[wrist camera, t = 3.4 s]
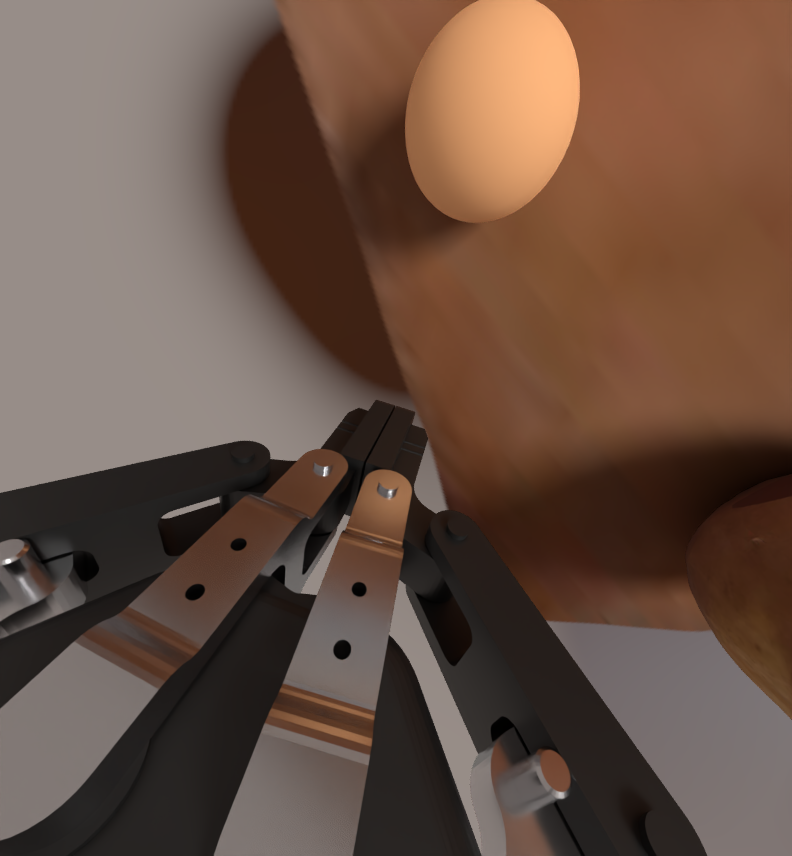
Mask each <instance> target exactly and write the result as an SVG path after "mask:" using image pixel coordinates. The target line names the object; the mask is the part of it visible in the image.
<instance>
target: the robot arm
mask: <svg viewBox="0 0 792 856" xmlns="http://www.w3.org/2000/svg"><path fill="white" fill-rule="evenodd" d="M414 416H415V412H414V411H411V410H408V409H404V408H401V407H398V406H396V408H395V405H391V404H388V403H385V402H382V401H379V400H376V401H375V402H374V403H373V405H372V406H371V408H370V409H369V411H367V410H364V409H360V408H358V409H355V410H353V411H351V412H349V413H348V414H347V415H346V416H345V418H344V419H343V420H342V422H341V423H340V424H339V426H338V427H337V428H336V429H335V431H334V432H333V433H332V435H331V436H330V437H329V438H328V440H327V441H326V442H325V444H324V445H323V446H322V448H321V449H316V450H312V451H309V452H307V453H305V454H304V455H303V456H302V457H301V458H300V459H299V460H298V461H285V460H284V461H283V460H274V459H270V452H269V450H268V449H267V448H266V447H265V446H264V445H262V444H260V443H257V442H253V441H238V442H232V443H228V444H223V445H218V446H214V447H209V448H205V449H200V450H195V451H191V452H186V453H182V454H177V455H172V456H168V457H163V458H159V459H154V460H150V461H145V462H140V463H136V464H131V465H126V466H122V467H117V468H113V469H108V470H104V471H99V472H94V473H90V474H86V475H81V476H76V477H72V478H67V479H62V480H58V481H53V482H48V483H44V484H39V485H35V486H30V487H26V488H21V489H16V490H12V491H7V492H3V493H0V856H707V854H706V852H705V849H704V847H703V845H702V843H701V841H700V839H699V837H698V835H697V833H696V832H695V830H694V828H693V826H692V825H691V823H690V822H689V820H688V819H687V817H686V816H685V814H684V813H683V811H682V810H681V809H680V807H679V806H678V805H677V803H676V802H675V801H674V799H673V798H672V796H671V795H670V793H669V792H668V791H667V789H666V788H665V786H664V785H663V784H662V782H661V781H660V779H659V778H658V777H657V775H656V774H655V772H654V771H653V770H652V768H651V767H650V765H649V764H648V763H647V761H646V760H645V759H644V757H643V756H642V754H641V753H640V752H639V750H638V749H637V748H636V746H635V745H634V743H633V742H632V740H631V739H630V738H629V736H628V735H627V733H626V732H625V731H624V729H623V728H622V727H621V725H620V724H619V722H618V721H617V719H616V718H615V717H614V715H613V714H612V712H611V711H610V710H609V708H608V707H607V706H606V704H605V703H604V701H603V700H602V699H601V697H600V696H599V694H598V693H597V692H596V690H595V689H594V688H593V686H592V685H591V683H590V682H589V680H588V679H587V678H586V676H585V675H584V673H583V672H582V671H581V669H580V668H579V667H578V665H577V664H576V662H575V661H574V660H573V658H572V657H571V656H570V654H569V653H568V651H567V650H566V649H565V647H564V646H563V644H562V643H561V642H560V640H559V639H558V637H557V636H556V634H555V633H554V632H553V630H552V629H551V628H550V626H549V625H548V623H547V622H546V620H545V619H544V618H543V616H542V615H541V613H540V612H539V611H538V609H537V608H536V607H535V605H534V604H533V602H532V601H531V600H530V598H529V597H528V595H527V594H526V593H525V591H524V590H523V588H522V587H521V586H520V584H519V583H518V581H517V580H516V579H515V577H514V576H513V574H512V573H511V572H510V570H509V569H508V567H507V566H506V565H505V563H504V562H503V561H502V559H501V558H500V556H499V555H498V554H497V552H496V551H495V549H494V548H493V547H492V545H491V544H490V542H489V541H488V540H487V538H486V537H485V535H484V534H483V533H482V531H481V530H480V528H479V527H478V526H477V524H476V523H475V522H474V521H473V520H472V519H470V518H469V517H468V516H466V515H464V514H462V513H460V512H457V511H452V510H445V511H441V512H438V513H437V514H435V513H434V512H432V511H431V510H429V509H428V508H426V507H425V506H424V505H423V504H422V503H421V502H420V501H419V500H418V498H417V497H416V495H415V492H414V483H415V480H416V476H417V473H418V469H419V466H420V463H421V460H422V456H423V453H424V450H425V447H426V443H427V440H428V437H427V434H426V431H425V429H423V428H419V427H417V426H413V425H412V422H413V419H414ZM216 497H219V498H220V503H217V504H214V505H211V506H207V507H204V508H201V509H198V510H195V511H192V512H188V513H185V514H182V515H179V516H176V517H172V518H167V519H162V518H161V517H162V516H163V515H165V514H166V513H168V512H170V511H173V510H176V509H180V508H183V507H186V506H190V505H193V504H196V503H200V502H203V501H206V500H209V499H213V498H216ZM344 514H346V515H348V516H350V519H349V522H348V524H347V527H346V530H345V531H342V533H341V535H340V537H339V540H338V543H337V545H336V548H335V550H334V553H333V555H332V558H331V561H330V563H329V566H328V568H327V571H326V573H325V576H324V579H323V581H322V584H321V586H320V589H319V591H318V594H317V595H310V594H301V591H302V588H303V587H304V584H305V583H306V581H307V579H308V577H309V576H310V574H311V573H312V571H313V570H314V568H315V566H316V565H317V563H318V561H319V560H320V558H321V557H322V555H323V553H324V552H325V550H326V549H327V547H328V545H329V544H330V542H331V541H332V539H333V537H334V536H335V534H336V531H337V526H338V524H339V523H340V521H341V519H342V517H343V515H344ZM399 580H401V581H402V582H403V583H404V584H406V592H407V595H408V598H409V600H410V602H411V604H412V607H413V609H414V611H415V613H416V616H417V618H418V620H419V622H420V625H421V627H422V629H423V631H424V633H425V636H426V638H427V640H428V643H429V645H430V647H431V649H432V651H433V654H434V656H435V658H436V660H437V663H438V665H439V667H440V669H441V672H442V673H443V676H444V678H445V681H446V683H447V685H448V687H449V689H450V692H451V694H452V696H453V698H454V701H455V703H456V705H457V707H458V709H459V712H460V714H461V716H462V718H463V721H464V723H465V725H466V727H467V730H468V732H469V734H470V736H471V738H472V741H473V743H474V745H475V748H476V750H477V752H478V756H477V757H476V759H475V761H474V764H473V767H472V771H471V777H470V789H471V798H472V803H473V807H474V810H475V814H476V817H477V820H478V824H479V829H480V834H481V843H482V855H481V853H480V850H479V847H478V844H477V842H476V839H475V836H474V833H473V831H472V828H471V825H470V822H469V820H468V817H467V814H466V811H465V809H464V806H463V803H462V801H461V798H460V795H459V792H458V789H457V787H456V784H455V781H454V778H453V776H452V773H451V770H450V767H449V764H448V762H447V759H446V756H445V753H444V751H443V748H442V745H441V743H440V740H439V737H438V735H437V731H436V729H435V726H434V723H433V720H432V718H431V715H430V712H429V710H428V707H427V704H426V701H425V699H424V695H423V693H422V690H421V687H420V684H419V682H418V679H417V676H416V674H415V671H414V669H413V667H412V665H411V663H410V661H409V659H408V658H407V656H406V655H405V653H404V652H403V650H402V649H401V648H400V646H399V645H398V644H397V643H396V641H395V640H394V639H393V638H392V637H391V636H390V635H389V632H390V626H391V620H392V615H393V609H394V603H395V598H396V592H397V587H398V581H399Z"/></svg>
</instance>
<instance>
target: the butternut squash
mask: <svg viewBox="0 0 792 856" xmlns="http://www.w3.org/2000/svg"><path fill="white" fill-rule="evenodd" d="M685 561H686V565H687V575H688V582H689V586H690V589H691V591H692V594H693V596H694V598H695V600H696V602H697V604H698V607H699V609H700V611H701V612H702V614H703V616H704V617H705V619H706V621H707V623H708V624H709V626H710V628H711V629H712V631H713V633H714V634H715V636H716V638H717V639H718V641H719V642H720V644H721V645H722V647H723V648H724V649H725V651H726V652H727V653H728V654H729V655H730V657H731V658H732V659H733V660H734V661H735V663H736V664H737V665H738V666H739V667H740V668H741V670H742V671H743V672H744V673H745V674H746V675H747V676H748V677H749V678H750V679H751V680H752V681H753V682H754V683H755V684H756V685H757V686H758V687H759V688H760V689H761V690H762V691H763V692H764V693H765V694H766V695H767V696H768V697H769V698H770V699H772V701H773V702H775V703H776V704H777V705H778V706H779V707H780V708H781V709H782V710H783V711H784V712H785V713H786V714H787V715H788V716H789V717H790V719H791V720H792V474H790V475H786V476H782V477H778V478H774V479H770V480H766V481H764V482H762V483H759V484H757V485H755V486H753V487H751V488H749V489H747V490H745V491H743V492H741V493H739V494H738V495H736V496H735V497H734V498H733V499H731V500H729V501H728V502H726V503H725V504H723V505H722V506H720V507H719V508H717V509H716V510H715V511H714V512H713V513H712V514H711V515H710V516H709V517H708V518H707V519H706V520H705V521H704V522H703V523H702V524H701V525H700V526H699V527H698V529H697V530H696V532H695V533H694V535H693V536H692V538H691V540H690V542H689V544H688V546H687V550H686V554H685Z"/></svg>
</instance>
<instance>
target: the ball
mask: <svg viewBox="0 0 792 856" xmlns="http://www.w3.org/2000/svg"><path fill="white" fill-rule="evenodd" d="M579 97H580V80H579V70H578V63H577V58H576V54H575V50H574V47H573V44H572V42H571V39H570V36H569V35H568V33H567V31H566V29H565V28H564V26H563V24H562V23H561V22H560V20H559V19H558V18H557V17H556V15H555V14H554V13H553V12H551V11H550V10H549V9H548V8H547V7H546V6H544V5H543V4H541V3H539V2H537V1H536V0H479V1H477V2H475V3H473V4H471V5H469V6H467V7H466V8H465V9H463V10H462V11H460V12H459V13H457V14H456V15H455V16H454V17H453V18H452V19H451V20H450V21H449V22H447V24H446V25H445V26H444V27H443V28H442V29H441V30H440V32H439V33H438V34H437V35H436V37H435V38H434V40H433V41H432V43H431V44H430V45H429V47H428V49H427V51H426V52H425V54H424V56H423V58H422V60H421V62H420V64H419V66H418V69H417V71H416V73H415V76H414V79H413V82H412V85H411V88H410V93H409V97H408V102H407V109H406V117H405V138H406V149H407V155H408V160H409V163H410V167H411V170H412V173H413V175H414V178H415V180H416V182H417V184H418V186H419V188H420V190H421V191H422V193H423V194H424V195H425V197H426V198H427V199H428V200H429V201H430V202H431V203H432V204H433V205H434V206H435V207H436V208H437V209H438V210H440V211H441V212H442V213H444V214H445V215H447V216H449V217H451V218H453V219H456V220H459V221H463V222H469V223H484V222H491V221H494V220H498V219H501V218H503V217H506V216H508V215H510V214H512V213H514V212H516V211H517V210H519V209H520V208H522V207H523V206H524V205H526V204H527V203H529V202H530V201H531V200H532V199H533V198H534V197H535V196H536V195H537V194H538V193H539V192H540V191H541V190H542V189H543V188H544V186H545V185H546V184H547V183H548V181H549V180H550V178H551V177H552V176H553V174H554V173H555V171H556V170H557V168H558V166H559V164H560V162H561V161H562V159H563V157H564V155H565V152H566V150H567V148H568V146H569V143H570V140H571V137H572V134H573V131H574V128H575V123H576V119H577V115H578V107H579Z"/></svg>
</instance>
